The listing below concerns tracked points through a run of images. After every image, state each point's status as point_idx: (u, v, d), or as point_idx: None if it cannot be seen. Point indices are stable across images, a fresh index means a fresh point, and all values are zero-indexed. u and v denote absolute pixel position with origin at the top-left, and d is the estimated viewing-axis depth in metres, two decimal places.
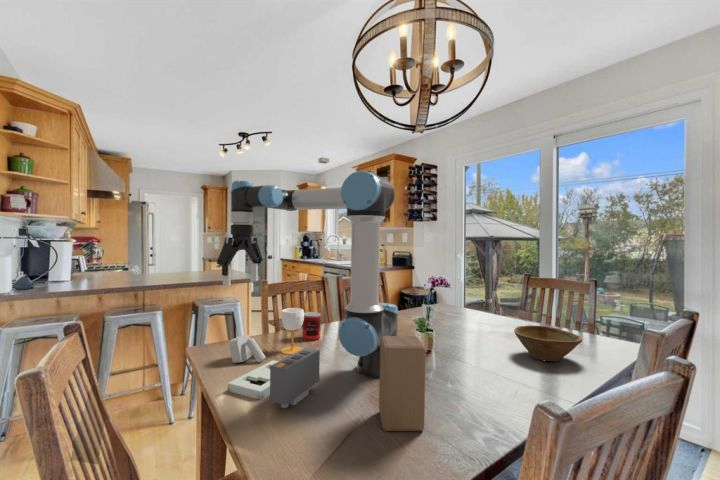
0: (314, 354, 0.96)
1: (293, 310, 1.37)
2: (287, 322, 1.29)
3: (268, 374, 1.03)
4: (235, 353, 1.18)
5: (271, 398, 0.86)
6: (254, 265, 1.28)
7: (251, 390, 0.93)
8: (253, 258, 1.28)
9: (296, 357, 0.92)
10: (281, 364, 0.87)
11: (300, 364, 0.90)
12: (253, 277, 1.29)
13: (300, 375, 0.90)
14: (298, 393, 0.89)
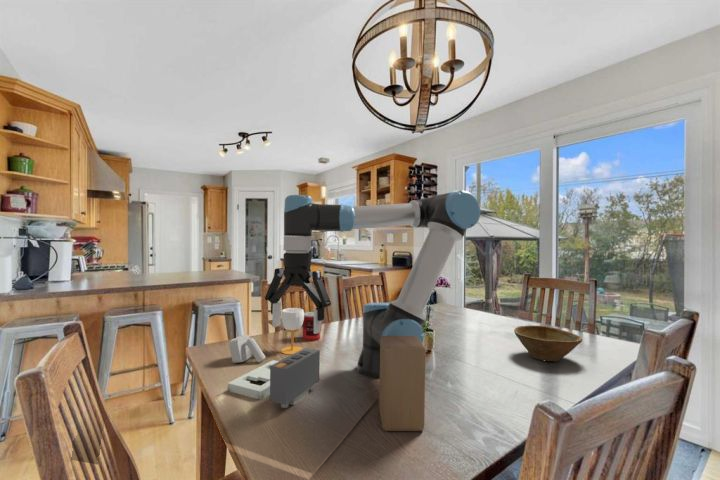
0: (314, 354, 0.96)
1: (293, 310, 1.37)
2: (287, 322, 1.29)
3: (268, 374, 1.03)
4: (235, 353, 1.18)
5: (271, 398, 0.86)
6: None
7: (251, 390, 0.93)
8: None
9: (296, 357, 0.92)
10: (281, 364, 0.87)
11: (300, 364, 0.90)
12: None
13: (300, 375, 0.90)
14: (298, 393, 0.89)
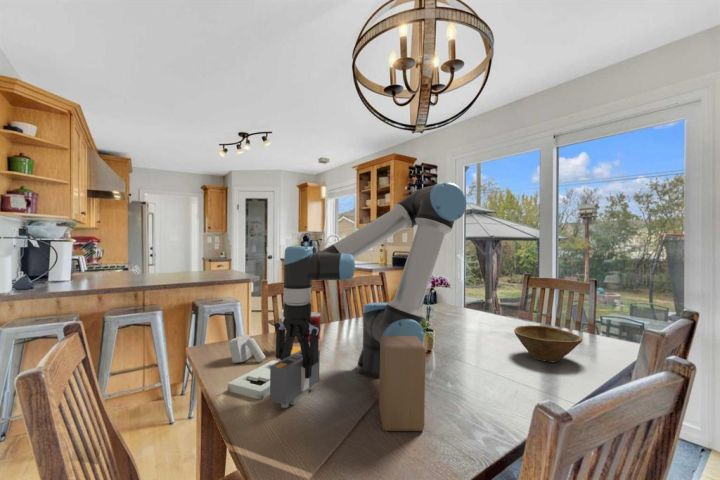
0: None
1: None
2: None
3: (268, 374, 1.03)
4: (235, 353, 1.18)
5: (271, 398, 0.86)
6: None
7: (251, 390, 0.93)
8: None
9: (296, 357, 0.92)
10: (281, 364, 0.87)
11: (300, 364, 0.90)
12: None
13: (300, 375, 0.90)
14: (298, 393, 0.89)
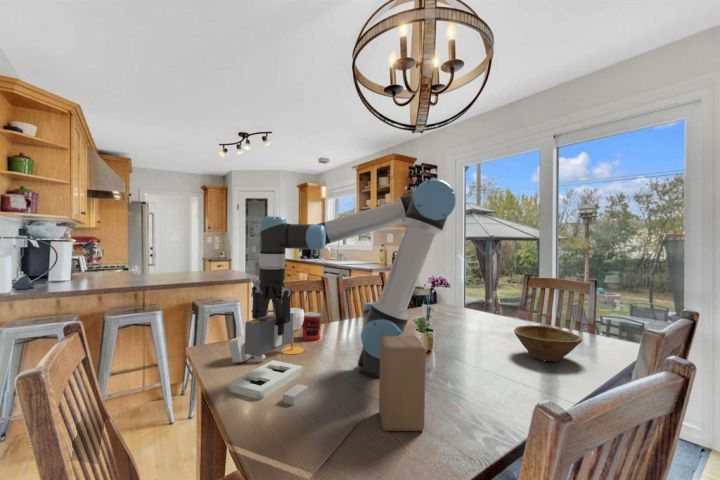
0: None
1: (293, 310, 1.37)
2: None
3: (268, 374, 1.03)
4: (235, 353, 1.18)
5: (246, 351, 0.96)
6: None
7: (251, 390, 0.93)
8: None
9: (270, 317, 1.02)
10: (255, 321, 0.96)
11: (273, 323, 1.00)
12: None
13: (273, 332, 1.00)
14: (271, 348, 0.99)
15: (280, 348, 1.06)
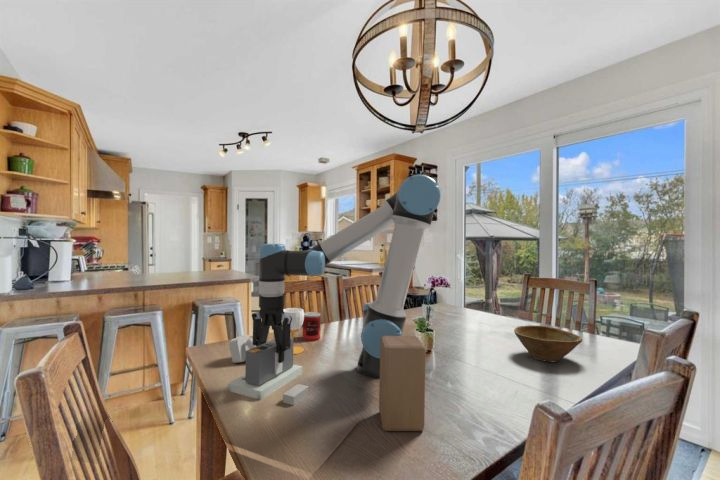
0: None
1: (293, 310, 1.37)
2: None
3: None
4: (235, 353, 1.18)
5: (246, 380, 0.96)
6: None
7: (251, 390, 0.93)
8: None
9: (270, 344, 1.02)
10: (255, 349, 0.96)
11: (274, 350, 1.00)
12: None
13: (273, 360, 1.00)
14: (271, 376, 0.99)
15: None
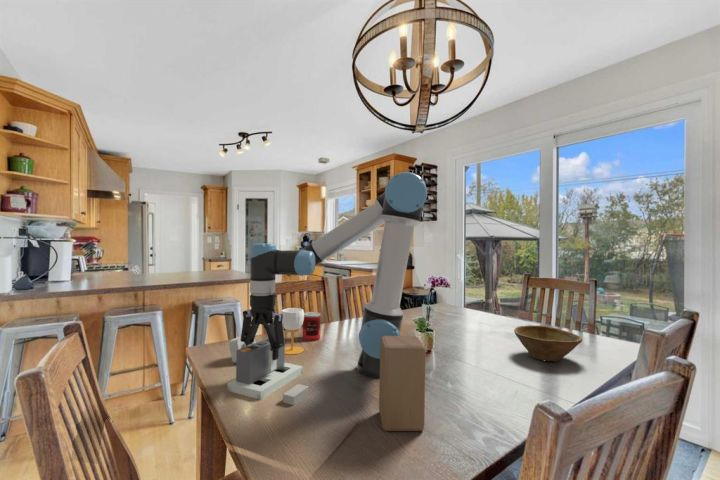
0: None
1: (293, 310, 1.37)
2: (287, 322, 1.29)
3: (268, 374, 1.03)
4: (235, 353, 1.18)
5: (237, 379, 0.97)
6: None
7: (251, 390, 0.93)
8: None
9: (261, 343, 1.03)
10: (246, 349, 0.98)
11: (264, 350, 1.01)
12: None
13: (264, 359, 1.01)
14: (262, 375, 1.01)
15: None
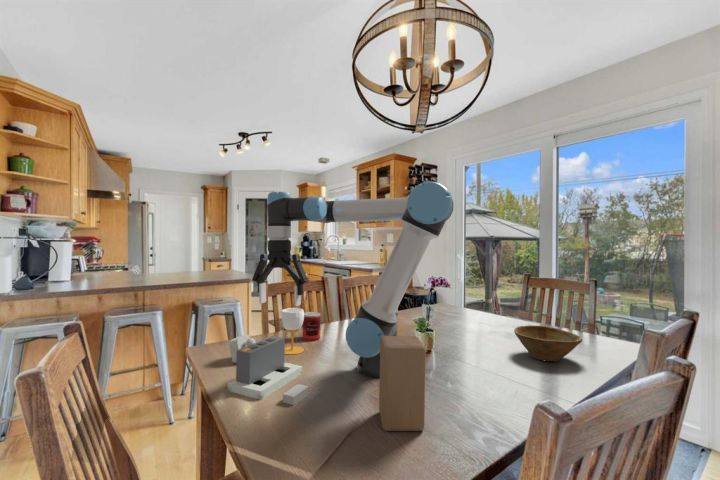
0: (279, 341, 1.08)
1: (293, 310, 1.37)
2: (287, 322, 1.29)
3: (268, 374, 1.03)
4: (235, 353, 1.18)
5: (237, 379, 0.97)
6: None
7: (251, 390, 0.93)
8: None
9: (261, 343, 1.03)
10: (246, 349, 0.98)
11: (264, 350, 1.01)
12: None
13: (264, 359, 1.01)
14: (262, 375, 1.01)
15: None
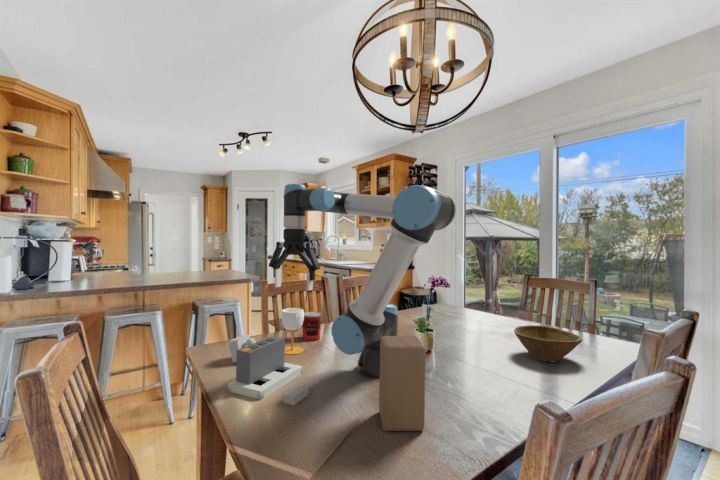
0: (279, 341, 1.08)
1: (293, 310, 1.37)
2: (287, 322, 1.29)
3: (268, 374, 1.03)
4: (235, 353, 1.18)
5: (237, 379, 0.97)
6: None
7: (251, 390, 0.93)
8: None
9: (261, 343, 1.03)
10: (246, 349, 0.98)
11: (264, 350, 1.01)
12: None
13: (264, 359, 1.01)
14: (262, 375, 1.01)
15: None
